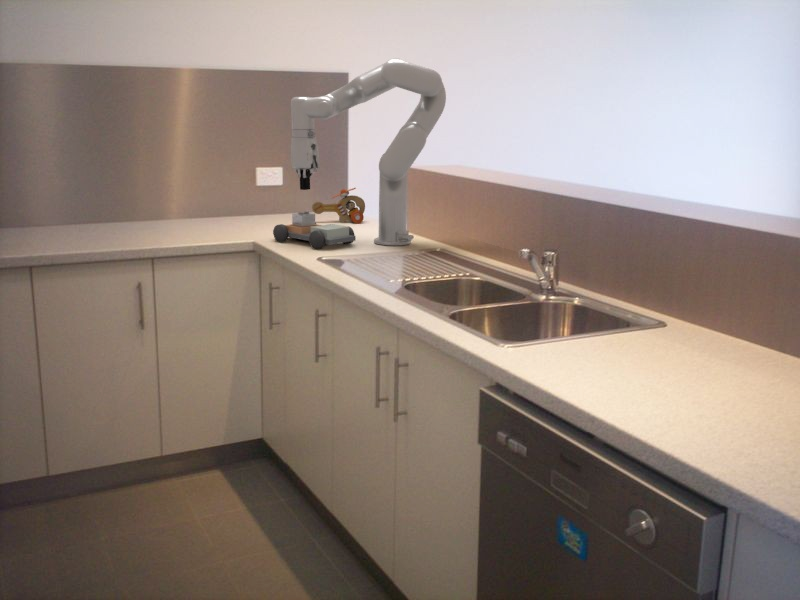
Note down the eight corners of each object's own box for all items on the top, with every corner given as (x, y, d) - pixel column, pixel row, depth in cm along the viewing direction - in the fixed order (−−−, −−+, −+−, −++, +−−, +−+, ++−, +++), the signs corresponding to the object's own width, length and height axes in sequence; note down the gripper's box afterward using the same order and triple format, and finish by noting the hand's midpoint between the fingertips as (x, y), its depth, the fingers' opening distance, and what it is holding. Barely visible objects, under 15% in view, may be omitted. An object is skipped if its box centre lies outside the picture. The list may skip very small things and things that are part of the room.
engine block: (315, 231, 303) (315, 212, 301) (302, 232, 299) (302, 213, 297) (305, 229, 306) (305, 210, 305) (292, 231, 302) (292, 212, 300)
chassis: (358, 245, 296) (358, 226, 295) (325, 251, 285) (325, 231, 284) (302, 235, 314) (302, 217, 313) (269, 240, 303) (269, 221, 302)
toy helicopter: (366, 223, 344) (366, 188, 341) (313, 224, 340) (313, 188, 337) (363, 220, 352) (363, 186, 349) (311, 221, 348) (311, 186, 345)
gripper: (326, 134, 292) (328, 190, 297) (296, 133, 302) (298, 187, 307) (310, 135, 287) (312, 192, 291) (280, 134, 297) (282, 188, 301)
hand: (305, 189), depth 299 cm, fingers closed
